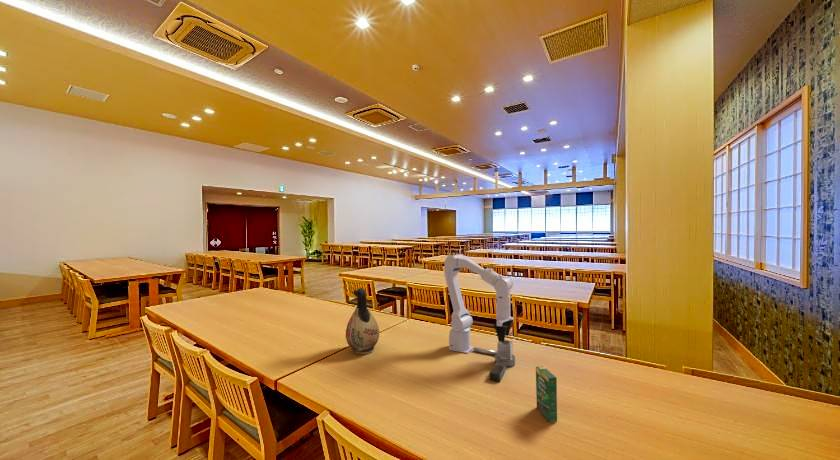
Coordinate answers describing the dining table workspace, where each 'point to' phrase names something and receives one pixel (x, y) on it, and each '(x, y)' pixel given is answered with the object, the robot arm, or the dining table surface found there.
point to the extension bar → (485, 351)
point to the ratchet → (501, 367)
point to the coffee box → (546, 393)
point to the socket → (505, 349)
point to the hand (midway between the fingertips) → (503, 338)
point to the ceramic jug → (362, 327)
